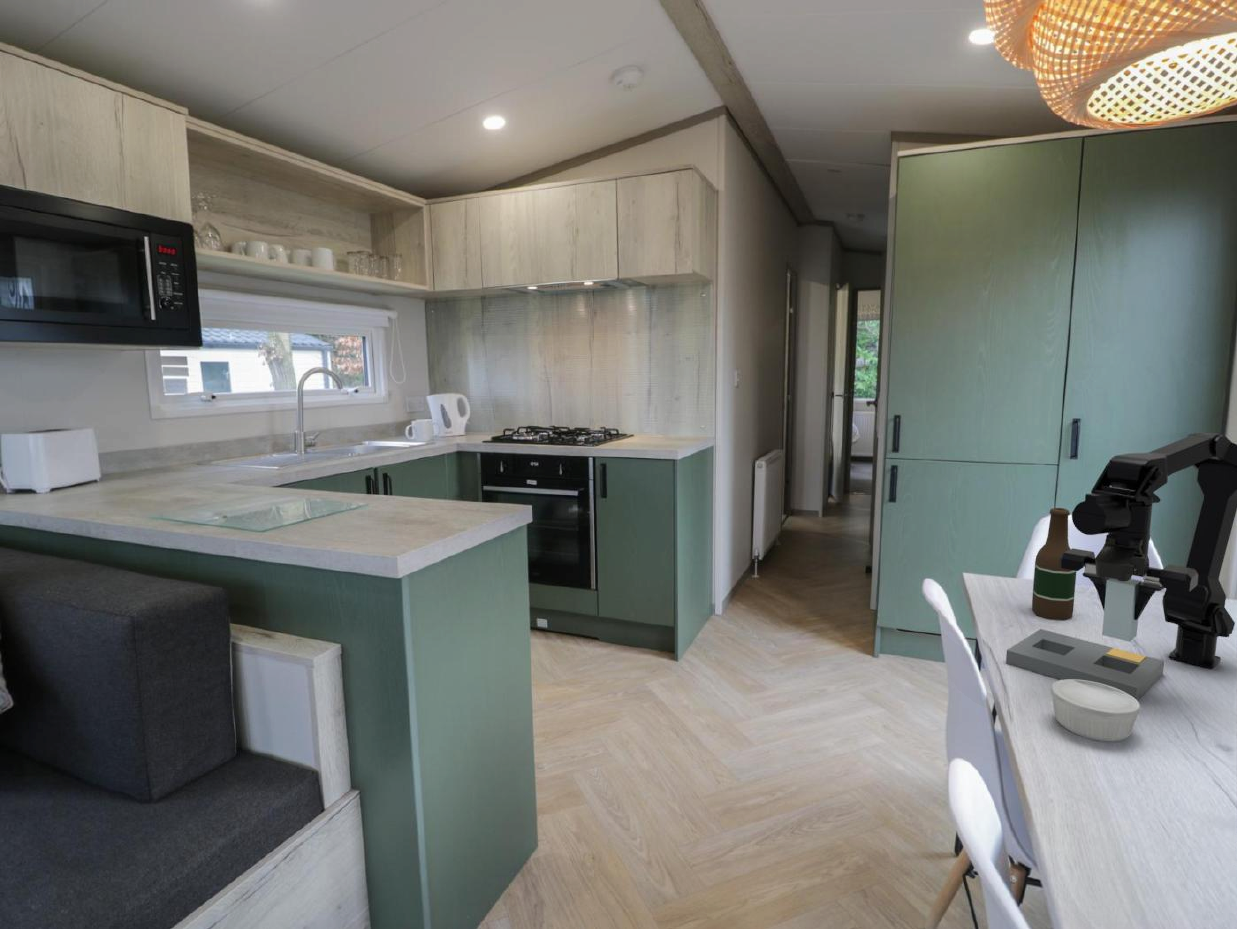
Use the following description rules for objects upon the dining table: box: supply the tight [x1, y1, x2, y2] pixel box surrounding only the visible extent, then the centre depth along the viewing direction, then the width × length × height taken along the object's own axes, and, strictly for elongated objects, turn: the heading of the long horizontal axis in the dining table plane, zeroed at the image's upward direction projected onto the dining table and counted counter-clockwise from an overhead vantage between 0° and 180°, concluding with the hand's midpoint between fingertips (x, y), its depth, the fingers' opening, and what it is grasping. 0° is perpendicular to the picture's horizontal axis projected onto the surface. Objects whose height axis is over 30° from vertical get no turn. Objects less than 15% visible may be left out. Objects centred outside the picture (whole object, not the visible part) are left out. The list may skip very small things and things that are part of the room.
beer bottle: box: [1031, 507, 1077, 621], centre depth 150 cm, size 8×8×24 cm
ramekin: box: [1050, 679, 1141, 743], centre depth 105 cm, size 11×11×5 cm
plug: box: [1101, 578, 1143, 642], centre depth 119 cm, size 4×4×10 cm
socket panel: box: [1005, 628, 1165, 701], centre depth 125 cm, size 16×20×3 cm
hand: (1121, 616), depth 120 cm, fingers closed on plug, 4 cm apart
